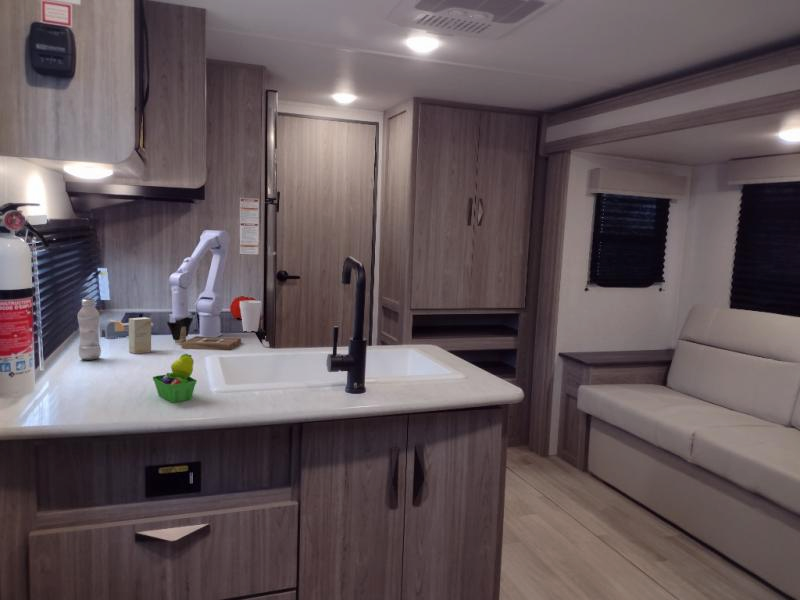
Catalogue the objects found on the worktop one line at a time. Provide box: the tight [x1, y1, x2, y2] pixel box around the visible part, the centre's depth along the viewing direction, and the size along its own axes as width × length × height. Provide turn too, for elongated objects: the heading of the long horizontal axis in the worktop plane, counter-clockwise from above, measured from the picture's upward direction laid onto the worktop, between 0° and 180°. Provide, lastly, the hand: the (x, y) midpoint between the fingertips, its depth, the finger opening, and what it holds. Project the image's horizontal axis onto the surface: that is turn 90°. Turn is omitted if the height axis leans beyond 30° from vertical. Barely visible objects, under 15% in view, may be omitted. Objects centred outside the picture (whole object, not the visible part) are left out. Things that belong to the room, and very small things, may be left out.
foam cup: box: [240, 300, 263, 333], centre depth 250 cm, size 10×9×13 cm
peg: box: [174, 326, 187, 344], centre depth 220 cm, size 4×4×6 cm
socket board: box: [180, 335, 242, 351], centre depth 216 cm, size 14×18×2 cm
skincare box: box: [128, 316, 152, 355], centre depth 200 cm, size 6×4×12 cm
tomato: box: [229, 295, 257, 320], centre depth 282 cm, size 13×14×12 cm
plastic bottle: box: [76, 298, 102, 361], centre depth 186 cm, size 6×7×20 cm
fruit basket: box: [152, 353, 197, 403], centre depth 149 cm, size 11×9×11 cm
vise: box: [99, 319, 154, 340], centre depth 230 cm, size 18×10×7 cm, turn 140°
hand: (180, 338), depth 220 cm, fingers open, 7 cm apart
